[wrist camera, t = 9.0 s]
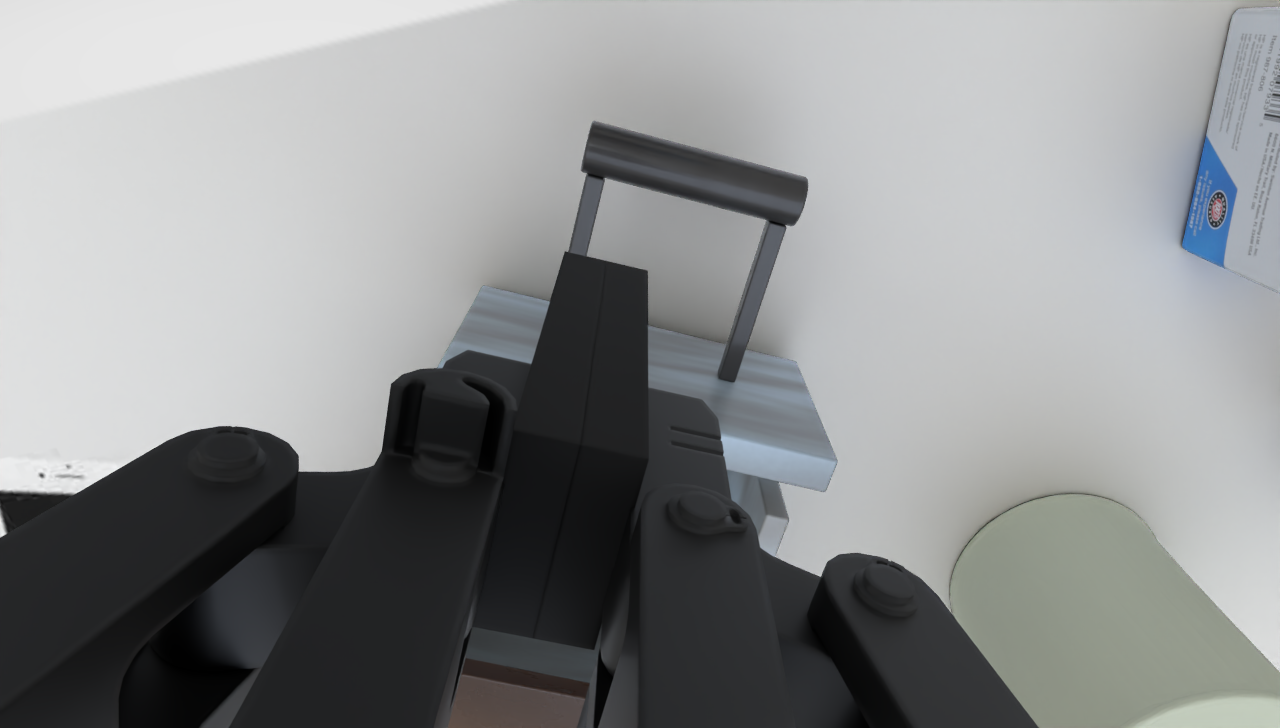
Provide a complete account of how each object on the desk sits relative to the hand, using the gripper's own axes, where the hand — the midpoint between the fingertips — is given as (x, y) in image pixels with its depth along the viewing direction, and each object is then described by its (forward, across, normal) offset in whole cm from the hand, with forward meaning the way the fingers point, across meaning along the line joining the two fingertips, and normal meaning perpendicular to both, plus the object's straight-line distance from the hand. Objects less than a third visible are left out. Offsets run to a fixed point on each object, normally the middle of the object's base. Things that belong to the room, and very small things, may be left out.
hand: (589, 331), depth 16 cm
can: (+17, +23, -14) cm, 32 cm away
